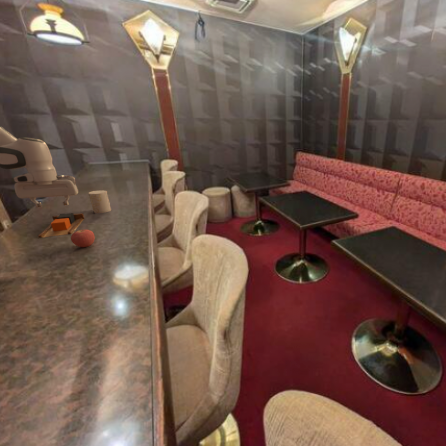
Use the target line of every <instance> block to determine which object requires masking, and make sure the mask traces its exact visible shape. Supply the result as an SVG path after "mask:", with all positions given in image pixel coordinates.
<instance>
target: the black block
mask: <svg viewBox="0 0 446 446" xmlns="http://www.w3.org/2000/svg"><path fill="white" fill-rule="evenodd" d="M74 214H75V213H73V212H69V213H68V212H67V213H60V214H59V215H57V216H58V217H57V219H64V218H69V221H70V224H72V223H73V222H74V221H75V218H74Z"/></svg>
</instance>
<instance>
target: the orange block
mask: <svg viewBox="0 0 446 446" xmlns="http://www.w3.org/2000/svg"><path fill="white" fill-rule="evenodd" d="M50 224H51V226H52V229H53V231H60V230H67V229H68V228H69V227H70V226H71V224H70V221H69V218H64V219H55V220H53V221H52V222H51V223H50Z"/></svg>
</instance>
